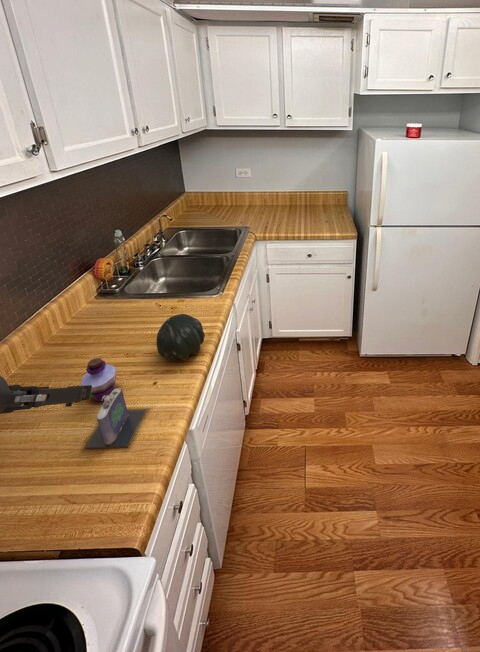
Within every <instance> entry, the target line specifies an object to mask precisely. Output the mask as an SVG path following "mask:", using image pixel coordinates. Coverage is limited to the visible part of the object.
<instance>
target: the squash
mask: <svg viewBox="0 0 480 652" xmlns="http://www.w3.org/2000/svg"><path fill="white" fill-rule="evenodd" d="M205 337H206V334H205V331H204V328H203V324H202V323H201V321H200V320H199V319H197V318H196V317H193V316H191V315H189V314H187V313H179V314H175V315H172V316H170V317H169V318H167V319H166V320H165V321H164V322H163V323H162V324H161V326H160V328H159V330H158V332H157V335H156V349H157V352H158V354H159V355H160V356H161V357H163V358H166V359H167V360H168V361H177V360H178V359H179V360H185V361H186V360H188V358H189V357H190V355H192V356H193V355H196V354H197V353H199V352H200V349H201V345H202V344H203V343H204V341H205Z"/></svg>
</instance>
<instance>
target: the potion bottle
mask: <svg viewBox="0 0 480 652" xmlns="http://www.w3.org/2000/svg"><path fill="white" fill-rule="evenodd" d="M85 370H86V373H85V374H83V377H82V379H81V383H80V386H85V385H92V389H91V393H90V398H93V401H95V402H96V403H99V404H100V403H104V398H105V397H106V396H107V395H108V396H109V395H110V394H111V392H112V391H113V390H114V389H116V379H117V367H116V366H113V365H112V364H109V363H108V364H106V361H105V360H103V359H102V358H101V357H95V358H91V359H90V360H89V361H88V363H87V366H86V369H85ZM103 396H105V397H104V398H103V399H102V397H103Z"/></svg>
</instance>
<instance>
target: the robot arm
mask: <svg viewBox="0 0 480 652" xmlns="http://www.w3.org/2000/svg"><path fill="white" fill-rule="evenodd" d="M91 389H92V385H85V386H82V385H72V386H71V385H70V386H67V387H53V388H52V387H51V388H50V386H37V385H27V386H21V384H10V385H9V384H8V381H7V380H6V379H5V378H4V377H3V376H1V375H0V415H1V414H11V413H13V412H15V411H24V410H31V409H32V408H34V409H35V408H36V409H37V408H40V407H46V406H53V405H63V404H65V407H66V408H67V407H68V408H69V407H72V406H73V404H78V403H81V402H85V401H90V398H91V397H90V393H91Z"/></svg>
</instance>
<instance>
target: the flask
mask: <svg viewBox="0 0 480 652" xmlns="http://www.w3.org/2000/svg"><path fill="white" fill-rule="evenodd" d="M115 388H116V387H115ZM104 397H105V396H103V397H102V399H103V398H104ZM128 415H129V414H128V408H127V403H126V400H125V397H124V392H123V389H122V388H121V387H117V388H116V389H114V390H113V391H112V392H111V394H110V395H109V396H108V395H107V396H106V397H105V398H104V401H103V402H102V404H101V406H100V408H99V411H98V413H97V415H96V420H97V423H98V426H100V429H101V432H102V435H103V439H104V442H105V444H106V445H109V444H112V443H113V442H114V441H115V440H116V438H117V435H118V433H119V432H120V430H121V429H122V425H123V424H124V421H125V420H126V419H127V417H128Z"/></svg>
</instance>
